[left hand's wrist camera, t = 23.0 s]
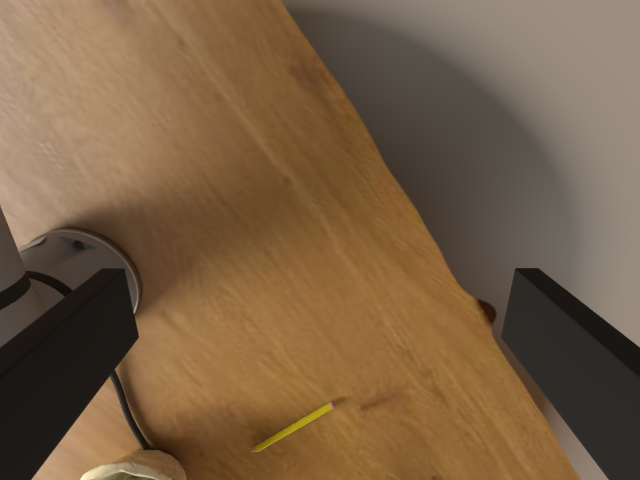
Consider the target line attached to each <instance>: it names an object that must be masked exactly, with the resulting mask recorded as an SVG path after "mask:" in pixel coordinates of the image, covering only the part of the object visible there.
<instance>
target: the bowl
mask: <svg viewBox="0 0 640 480" xmlns="http://www.w3.org/2000/svg"><path fill="white" fill-rule="evenodd" d="M80 480H186V474H185V472H184V469H183V468H182V466H181V465H180V463H179V462H178V460H176V459H175V458H174V457H173V456H171V455H170V454H166V453H164V452H162V451H160V450H139V451H135V452H132V453H130V454H128V455H126V456H124V457H122V458H119V459H117V460H116V461H114V462H111V463H105V464H103V465H100V466H98V467H96V468H94V469H92V470H90V471H88V472H86V473H85V474H84V475H83V477H82V478H81V479H80Z"/></svg>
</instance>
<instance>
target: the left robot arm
mask: <svg viewBox="0 0 640 480" xmlns="http://www.w3.org/2000/svg"><path fill="white" fill-rule="evenodd" d="M141 297H142V285H141V280H140V277H139V274H138V271H137V269H136V267H135V265H134V264H133V262H132V261H131V259H130V258H129V257H128V255H127V254H126V253H125V252H124V251H123V250H122V249H121V248H120V247H119V246H117V245H116V244H115V243H113V242H112V241H110V240H109V239H107V238H105V237H103V236H101V235H99V234H97V233H94V232H91V231H88V230H83V229H77V228H62V229H56V230H53V231H50V232H47V233H45V234H43V235H41V236H39V237H37V238H35V239H34V240H32V241H31V242H30V243H28V244H27V245H24V246H22V247H20V248H19V249H17V246H16V244H15V241H14V239H13V236H12V234H11V231H10V229H9V226H8V224H7V221H6V219H5V216H4V214H3V211H2V209H1V206H0V480H31V479H32V478H33V477H34V475H35V474H36V473H37V471H38V470H39V469H40V467H41V466H42V465H43V463H44V462H45V461H46V459H47V458H48V457H49V455H50V454H51V453H52V451H53V450H54V449H55V447H56V446H57V445H58V444H59V442H60V441H61V440H62V438H63V437H64V436H65V434H66V433H67V432H68V430H69V429H70V428H71V426H72V425H73V424H74V422H75V421H76V420H77V418H78V417H79V416H80V414H81V413H82V412H83V410H84V409H85V408H86V407H87V405H88V404H89V403H90V401H91V400H92V399H93V397H94V396H95V395H96V393H97V392H98V391H99V389H100V388H101V387H102V385H103V384H104V383H105V381H106V380H107V379H108V377H109V376H110V378H111V380H112V382H113V384H114V387H115V389H116V392H117V395H118V398H119V401H120V404H121V407H122V410H123V413H124V415H125V418H126V420H127V422H128V424H129V426H130V428H131V430H132V432H133V433H134V435H135V437H136V438H137V440H138V441H139V443H140V444H141V446H142V447H143V449H144V450H151V448H150V446H149V444H148V443H147V441H146V440H145V438H144V437H143V435H142V433H141V432H140V430H139V428H138V427H137V425H136V423H135V421H134V419H133V417H132V414H131V412H130V409H129V407H128V404H127V401H126V397H125V394H124V391H123V388H122V386H121V383H120V380H119V378H118V376H117V374H116V372H115V368H116V367H117V366H118V364H119V363H120V362H121V360H122V359H123V358H124V356H125V355H126V354H127V352H128V351H129V350H130V348H131V347H132V346H133V344H134V343H135V342H136V340H137V339H138V338H139V335H138V330H137V326H136V321H135V316H134V314H135V313H136V311H137V309H138V307H139V305H140V302H141ZM501 338H502V339H503V340H504V342H505V343H506V344H507V346H508V347H509V348H510V350H511V351H512V352H513V354H514V355H515V356H516V358H517V359H518V360H519V362H520V363H521V364H522V366H523V367H524V368H525V370H526V371H527V372H528V374H529V375H530V376H531V377H532V379H533V380H534V381H535V383H536V384H537V385H538V387H539V388H540V389H541V391H542V392H543V393H544V395H545V396H546V397H547V399H548V400H549V401H550V403H551V404H552V405H553V407H554V408H555V409H556V411H557V412H558V413H559V414H560V416H561V417H562V418H563V420H564V421H565V422H566V424H567V425H568V426H569V428H570V429H571V430H572V432H573V433H574V434H575V436H576V437H577V438H578V440H579V441H580V442H581V444H582V445H583V446H584V447H585V449H586V450H587V451H588V453H589V454H590V455H591V457H592V458H593V459H594V461H595V462H596V463H597V465H598V466H599V467H600V469H601V470H602V471H603V473H604V474H605V475H606V476H607V478H608V479H609V480H640V347H638V346H637V345H636V344H635V343H633V342H632V341H631V340H629V339H628V338H627V337H626V336H624V335H623V334H622V333H620V332H619V331H618V330H617V329H615V328H614V327H613V326H611V325H610V324H609V323H608V322H606V321H605V320H604V319H603V318H601V317H600V316H599V315H597V314H596V313H595V312H593V311H592V310H591V309H590V308H588V307H587V306H586V305H585V304H583V303H582V302H581V301H579V300H578V299H577V298H576V297H574V296H573V295H572V294H570V293H569V292H568V291H567V290H565V289H564V288H563V287H561V286H560V285H559V284H558V283H556V282H555V281H554V280H553V279H551V278H550V277H549V276H547V275H546V274H545V273H544V272H542V271H541V270H540V269H538V268H516V269H515V272H514V277H513V282H512V287H511V292H510V297H509V301H508V306H507V311H506V316H505V321H504V326H503V330H502V335H501Z"/></svg>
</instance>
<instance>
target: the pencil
mask: <svg viewBox="0 0 640 480" xmlns="http://www.w3.org/2000/svg"><path fill="white" fill-rule="evenodd" d="M333 408H335V404H334V402H333V401H331V402H329V403H328V404H326V405H324V406H323V407H321V408H319V409H317V410H316V411H314V412H312V413H311V414H309V415H307V416H305V417H304V418H302V419H300V420H299V421H297V422H295V423H294V424H292V425H290V426H288V427H287V428H285V429H283V430H282V431H280V432H278V433H276V434H275V435H273V436H271V437H270V438H268V439H266V440H264V441H263V442H261V443H259V444H258V445H256V446H255V447H254V449H253V450H252V451H251V452H259V451H260V450H262V449H264V448H266V447H267V446H269V445H271V444H273V443H274V442H276V441H278V440H279V439H281V438H283V437H285V436H286V435H288V434H290V433H292V432H293V431H295V430H297V429H298V428H300V427H302V426H304V425H305V424H307V423H309V422H311V421H312V420H314V419H316V418H317V417H319V416H321V415H323V414H324V413H326V412H328V411H330V410H331V409H333ZM251 452H250V453H251Z"/></svg>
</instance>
